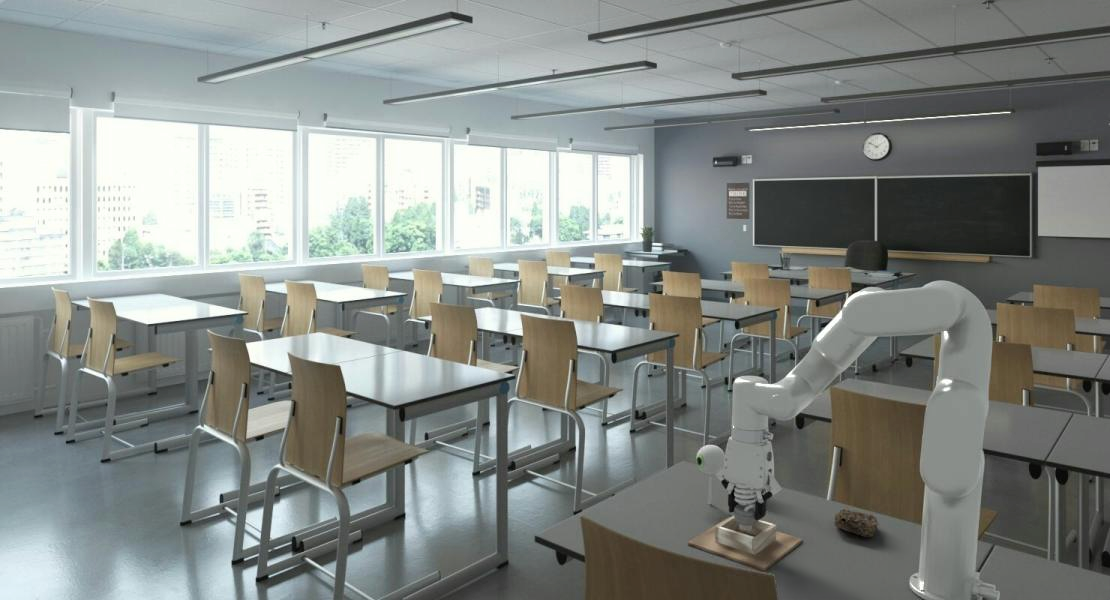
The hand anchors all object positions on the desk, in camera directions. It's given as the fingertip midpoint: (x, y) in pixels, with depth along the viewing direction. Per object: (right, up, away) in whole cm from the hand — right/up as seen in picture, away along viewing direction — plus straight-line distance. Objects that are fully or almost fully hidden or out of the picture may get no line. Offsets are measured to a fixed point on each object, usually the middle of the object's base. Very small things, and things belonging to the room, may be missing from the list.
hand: (746, 513), depth 171 cm
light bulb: (0, -4, +1) cm, 4 cm away
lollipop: (-3, -4, +23) cm, 23 cm away
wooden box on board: (0, -7, +1) cm, 7 cm away
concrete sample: (+27, -6, +8) cm, 28 cm away
